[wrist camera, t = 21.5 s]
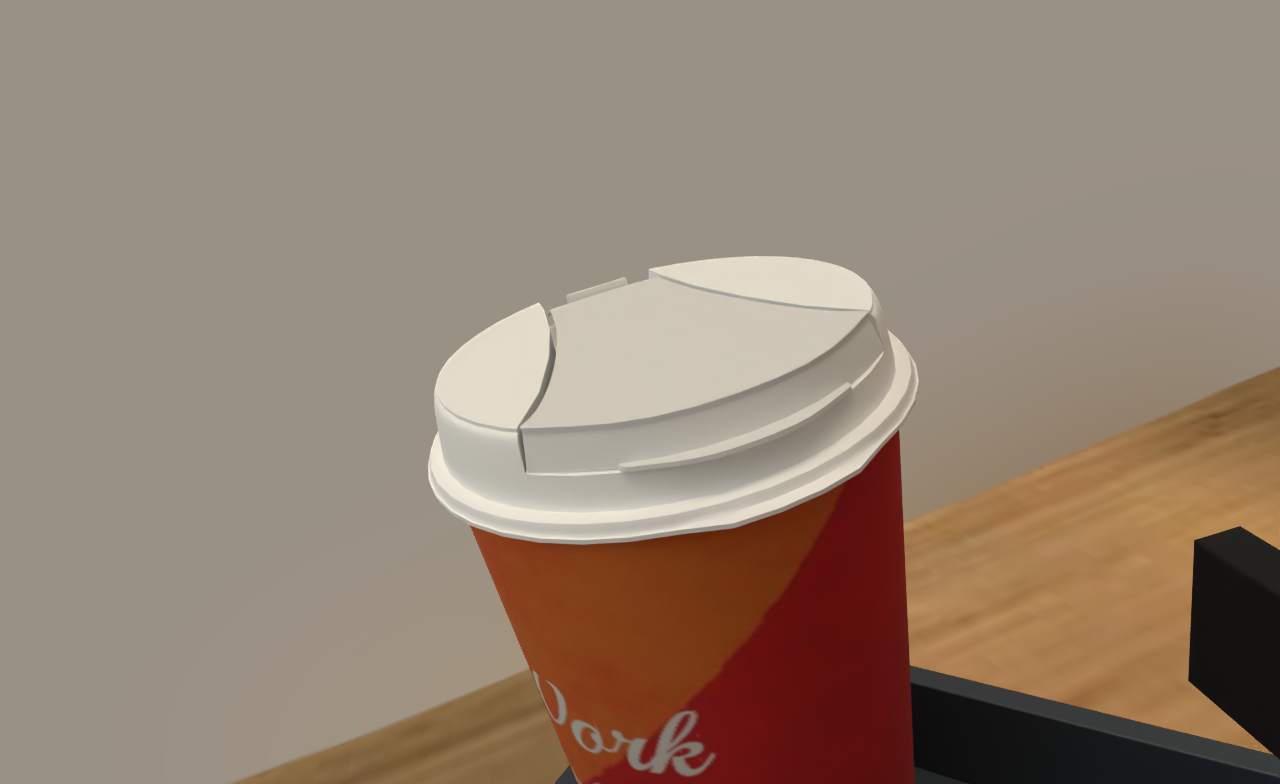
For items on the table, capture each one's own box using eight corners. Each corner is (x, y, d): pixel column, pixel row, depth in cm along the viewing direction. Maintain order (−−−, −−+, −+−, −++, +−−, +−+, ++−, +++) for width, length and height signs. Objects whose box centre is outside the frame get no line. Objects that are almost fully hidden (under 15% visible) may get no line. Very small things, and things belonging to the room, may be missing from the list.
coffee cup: (572, 861, 23) (387, 335, 17) (846, 736, 25) (762, 222, 19) (688, 1240, 15) (427, 529, 9) (1070, 1022, 17) (1047, 311, 11)
